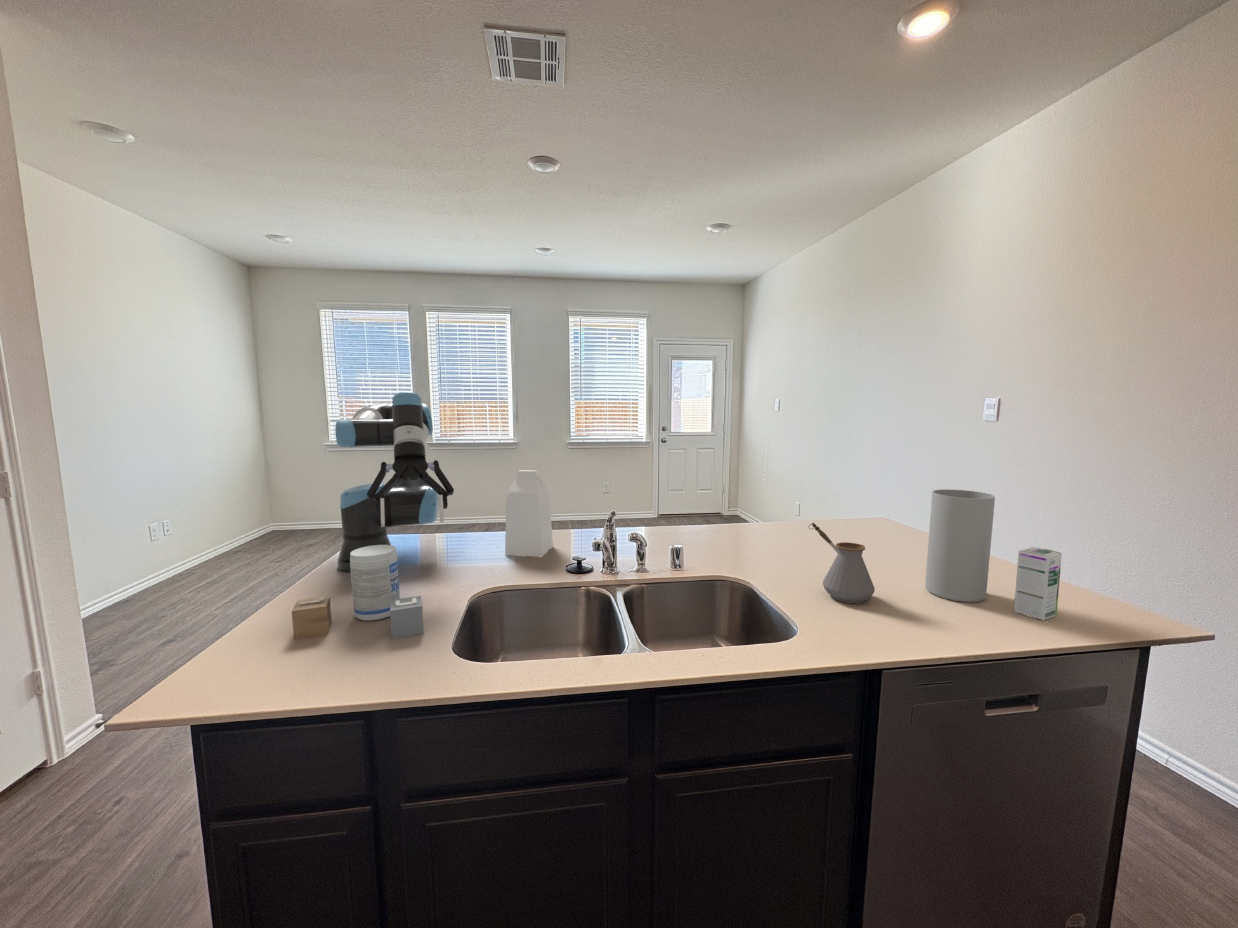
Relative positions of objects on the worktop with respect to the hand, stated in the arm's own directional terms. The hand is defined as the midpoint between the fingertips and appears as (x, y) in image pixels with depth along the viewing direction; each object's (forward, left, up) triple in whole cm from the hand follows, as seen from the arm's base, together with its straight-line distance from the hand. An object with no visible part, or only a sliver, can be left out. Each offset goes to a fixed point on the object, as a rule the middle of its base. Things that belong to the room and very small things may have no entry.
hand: (413, 523), depth 124 cm
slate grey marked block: (+22, -3, -18) cm, 29 cm away
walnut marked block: (+14, -21, -18) cm, 31 cm away
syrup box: (+71, +125, -18) cm, 145 cm away
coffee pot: (+42, +96, -18) cm, 107 cm away
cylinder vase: (+56, +121, -18) cm, 135 cm away
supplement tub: (+10, -9, -18) cm, 22 cm away
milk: (-23, +34, -18) cm, 45 cm away
